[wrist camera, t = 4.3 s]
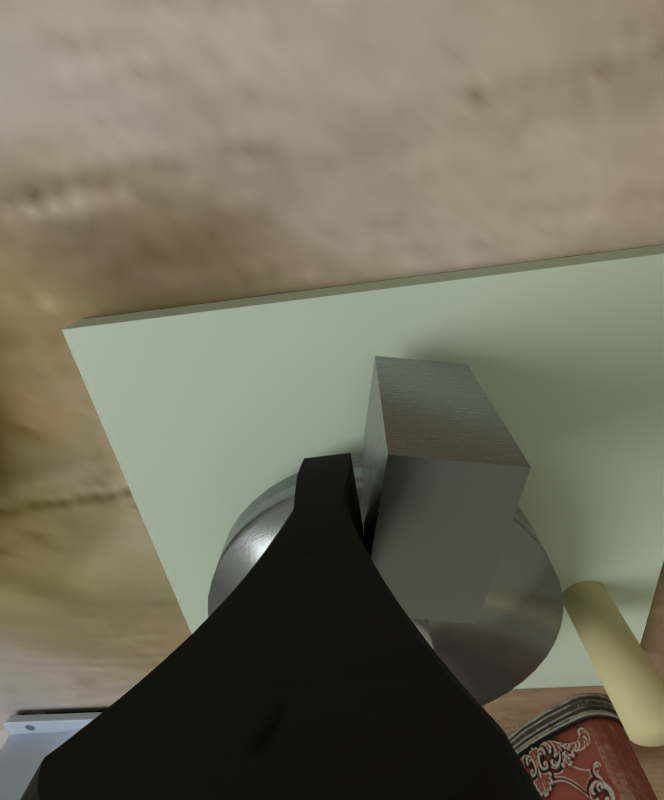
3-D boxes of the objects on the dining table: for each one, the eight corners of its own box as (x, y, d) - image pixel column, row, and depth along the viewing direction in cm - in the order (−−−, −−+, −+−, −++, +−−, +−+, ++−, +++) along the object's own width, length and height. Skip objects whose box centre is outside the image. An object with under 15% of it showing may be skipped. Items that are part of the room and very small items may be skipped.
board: (225, 678, 21) (188, 828, 16) (80, 319, 13) (-76, 403, 8) (616, 661, 20) (704, 822, 15) (721, 236, 12) (991, 283, 7)
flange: (496, 694, 18) (539, 845, 14) (224, 670, 18) (188, 814, 14) (633, 379, 11) (787, 490, 7) (208, 340, 11) (130, 431, 7)
